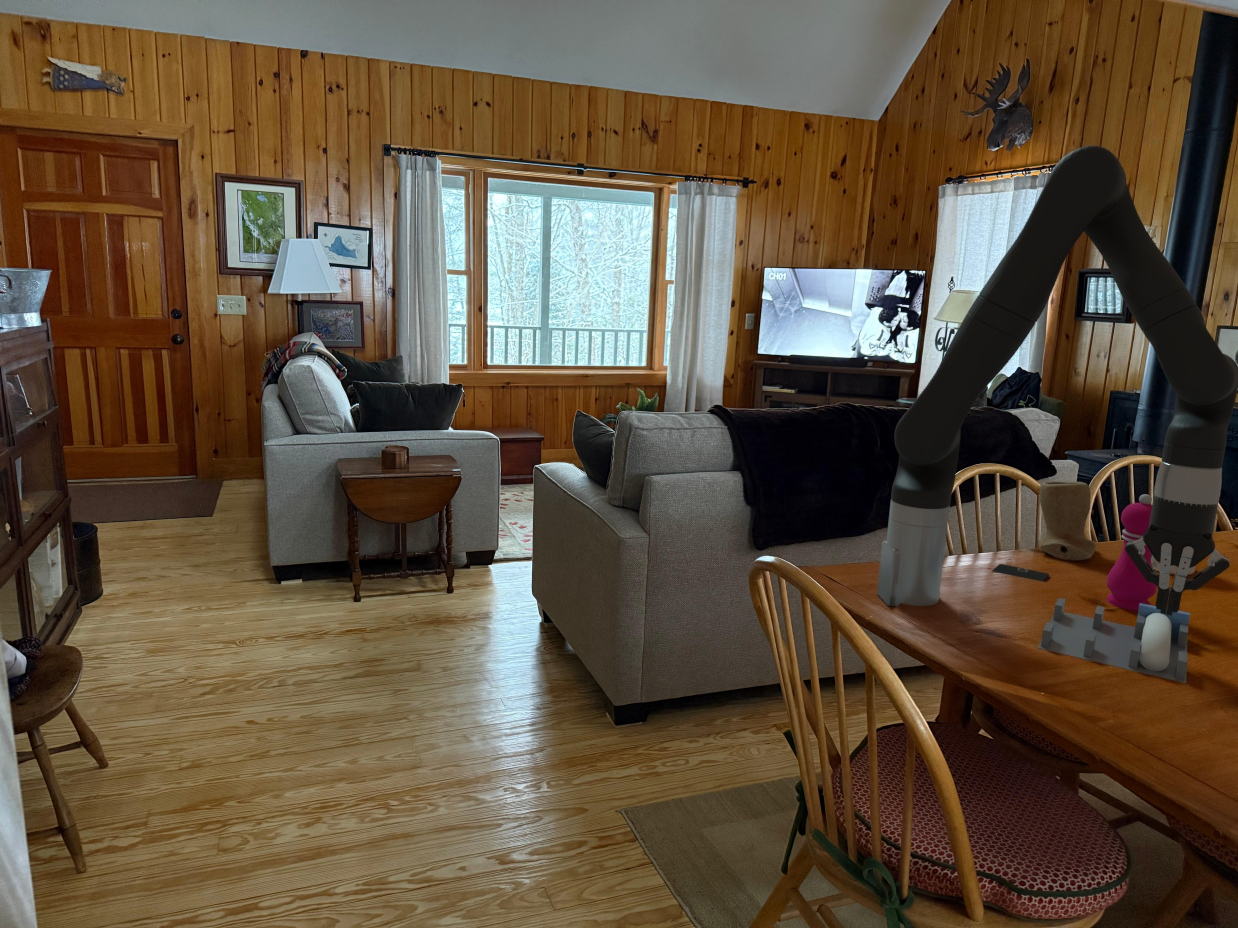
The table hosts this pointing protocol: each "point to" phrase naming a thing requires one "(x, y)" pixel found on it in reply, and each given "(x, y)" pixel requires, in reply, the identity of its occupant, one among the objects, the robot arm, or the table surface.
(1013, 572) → the cell phone
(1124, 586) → the pepper mill
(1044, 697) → the table surface
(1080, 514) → the sheepskin slipper boot
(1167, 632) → the white rounded capsule
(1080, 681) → the table surface
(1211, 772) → the table surface
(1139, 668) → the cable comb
